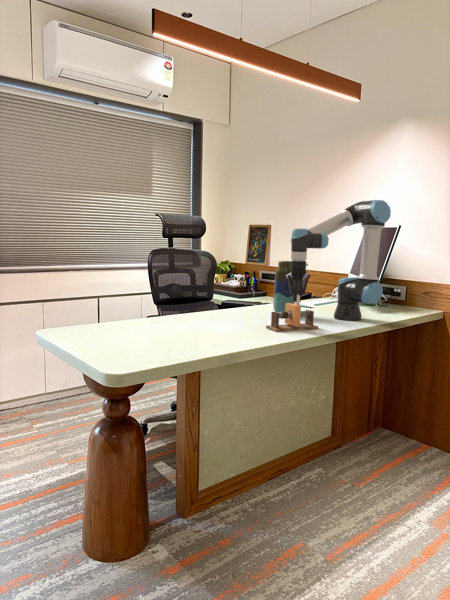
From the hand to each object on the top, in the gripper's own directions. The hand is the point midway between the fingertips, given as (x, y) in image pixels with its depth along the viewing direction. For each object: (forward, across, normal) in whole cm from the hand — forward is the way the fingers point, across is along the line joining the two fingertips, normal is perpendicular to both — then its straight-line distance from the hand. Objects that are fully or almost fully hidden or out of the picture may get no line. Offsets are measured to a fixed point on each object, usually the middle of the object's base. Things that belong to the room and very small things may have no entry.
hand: (296, 308), depth 228 cm
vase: (+10, -14, -36) cm, 40 cm away
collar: (+8, +2, 0) cm, 8 cm away
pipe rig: (+10, +2, 0) cm, 10 cm away
